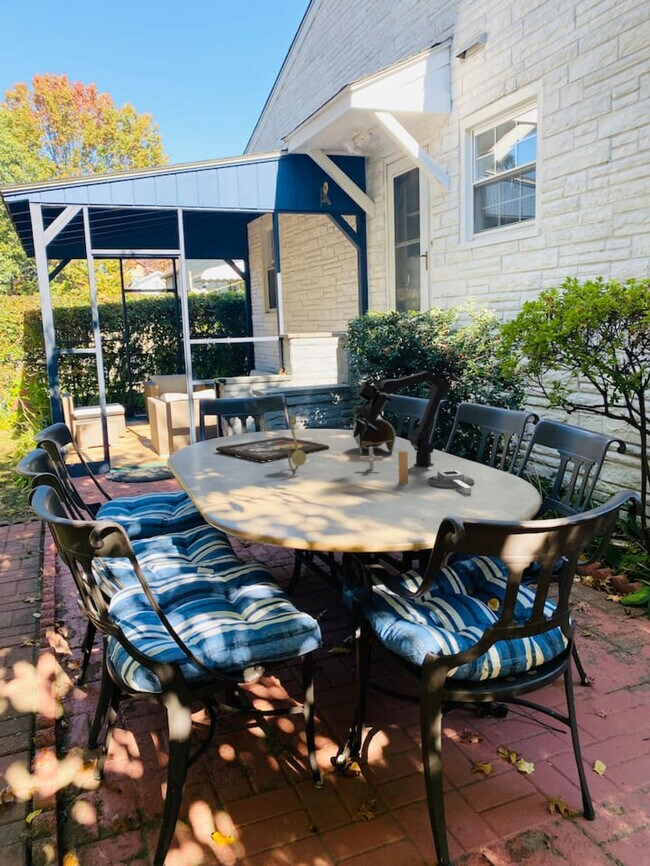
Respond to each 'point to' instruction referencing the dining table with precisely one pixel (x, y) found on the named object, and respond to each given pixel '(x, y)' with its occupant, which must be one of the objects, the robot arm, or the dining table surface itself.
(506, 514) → the dining table surface
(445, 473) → the rosette plate
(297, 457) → the wall sconce
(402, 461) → the pin
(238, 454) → the religious icon
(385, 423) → the helmet
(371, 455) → the pipe connector
